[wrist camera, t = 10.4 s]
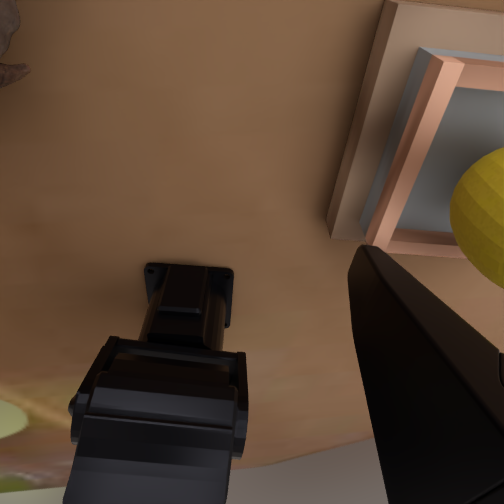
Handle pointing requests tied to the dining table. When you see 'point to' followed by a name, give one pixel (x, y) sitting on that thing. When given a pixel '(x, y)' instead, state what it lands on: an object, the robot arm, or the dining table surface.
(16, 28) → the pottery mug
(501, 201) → the lemon
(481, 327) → the dining table surface
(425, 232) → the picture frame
